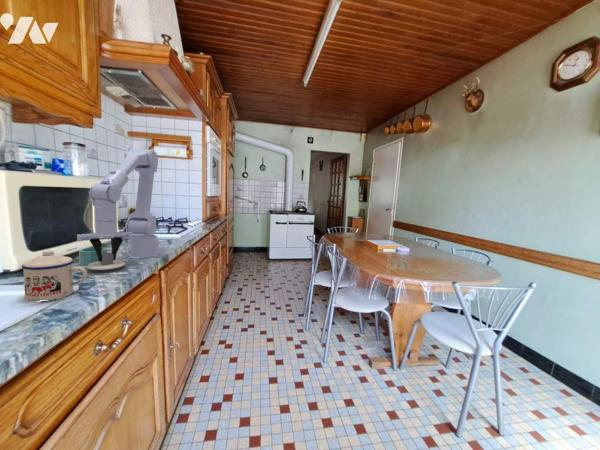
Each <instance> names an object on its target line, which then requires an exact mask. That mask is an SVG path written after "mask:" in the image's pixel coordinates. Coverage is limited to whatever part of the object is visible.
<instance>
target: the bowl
mask: <svg viewBox="0 0 600 450" xmlns="http://www.w3.org/2000/svg"><path fill="white" fill-rule="evenodd" d="M101 253H108V248H107V247H102V249H101ZM78 258H79V259H78V260H79V265H80V266H81V267H82V266H84V267H88V264H90V263H93V262H97V261H98V256H97V253H96V251H95V249H94V247H85V248H81V249H79V250H78Z"/></svg>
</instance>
